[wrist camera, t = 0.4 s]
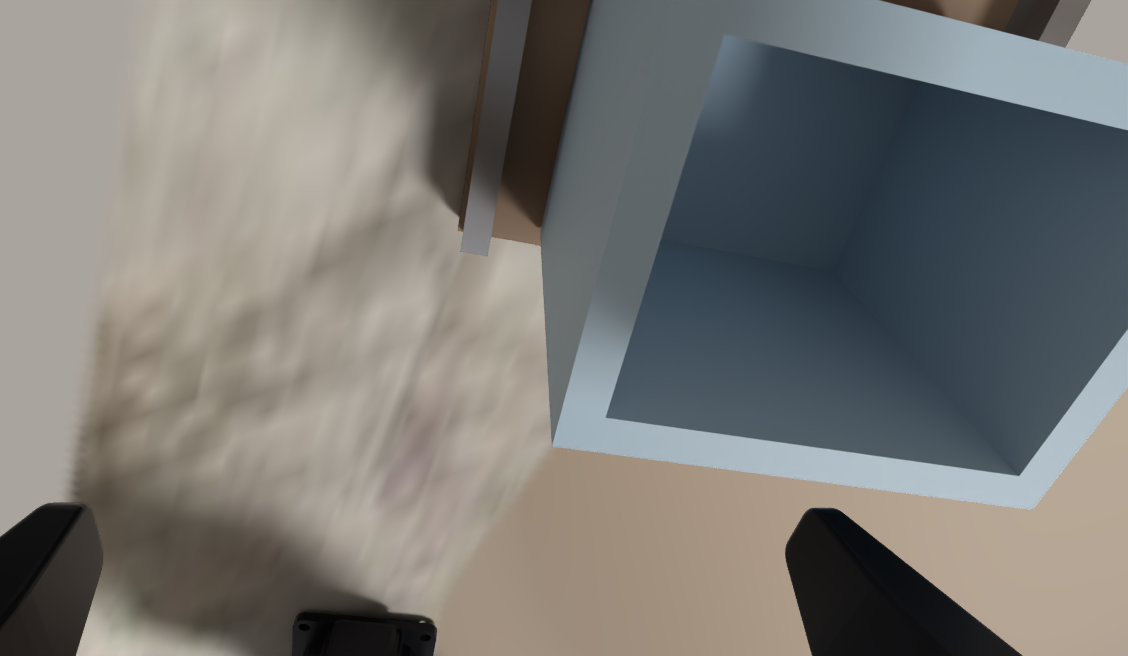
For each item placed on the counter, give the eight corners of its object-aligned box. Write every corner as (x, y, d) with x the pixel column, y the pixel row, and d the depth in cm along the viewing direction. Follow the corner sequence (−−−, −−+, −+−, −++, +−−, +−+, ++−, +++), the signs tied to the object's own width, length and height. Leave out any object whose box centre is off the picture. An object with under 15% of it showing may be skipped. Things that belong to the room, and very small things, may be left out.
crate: (835, 286, 22) (1032, 510, 14) (540, 232, 21) (551, 446, 12) (955, 30, 18) (1337, 116, 10) (602, -59, 17) (684, -49, 8)
